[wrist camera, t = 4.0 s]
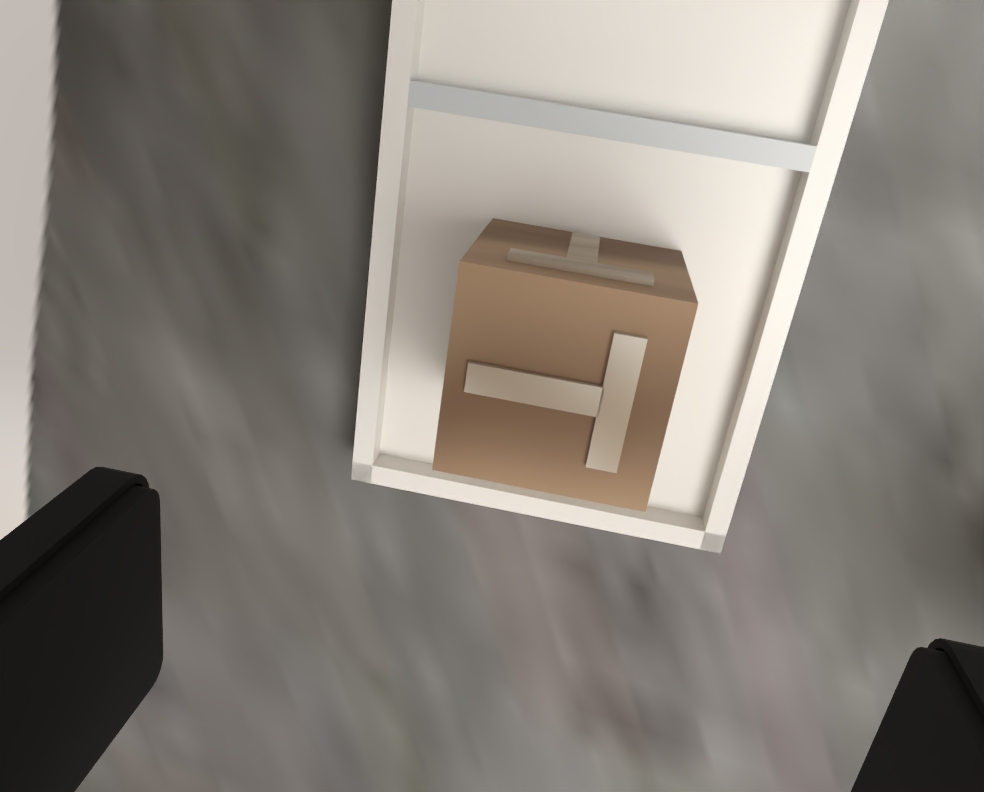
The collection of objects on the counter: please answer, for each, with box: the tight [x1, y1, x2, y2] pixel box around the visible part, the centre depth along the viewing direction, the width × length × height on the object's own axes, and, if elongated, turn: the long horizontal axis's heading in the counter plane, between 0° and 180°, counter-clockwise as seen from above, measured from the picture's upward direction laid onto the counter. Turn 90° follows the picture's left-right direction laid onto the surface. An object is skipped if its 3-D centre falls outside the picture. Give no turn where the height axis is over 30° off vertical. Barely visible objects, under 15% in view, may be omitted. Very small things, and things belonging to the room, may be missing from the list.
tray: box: [351, 0, 889, 553], centre depth 20 cm, size 22×11×2 cm, turn 171°
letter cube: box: [432, 218, 698, 512], centre depth 20 cm, size 5×5×5 cm
